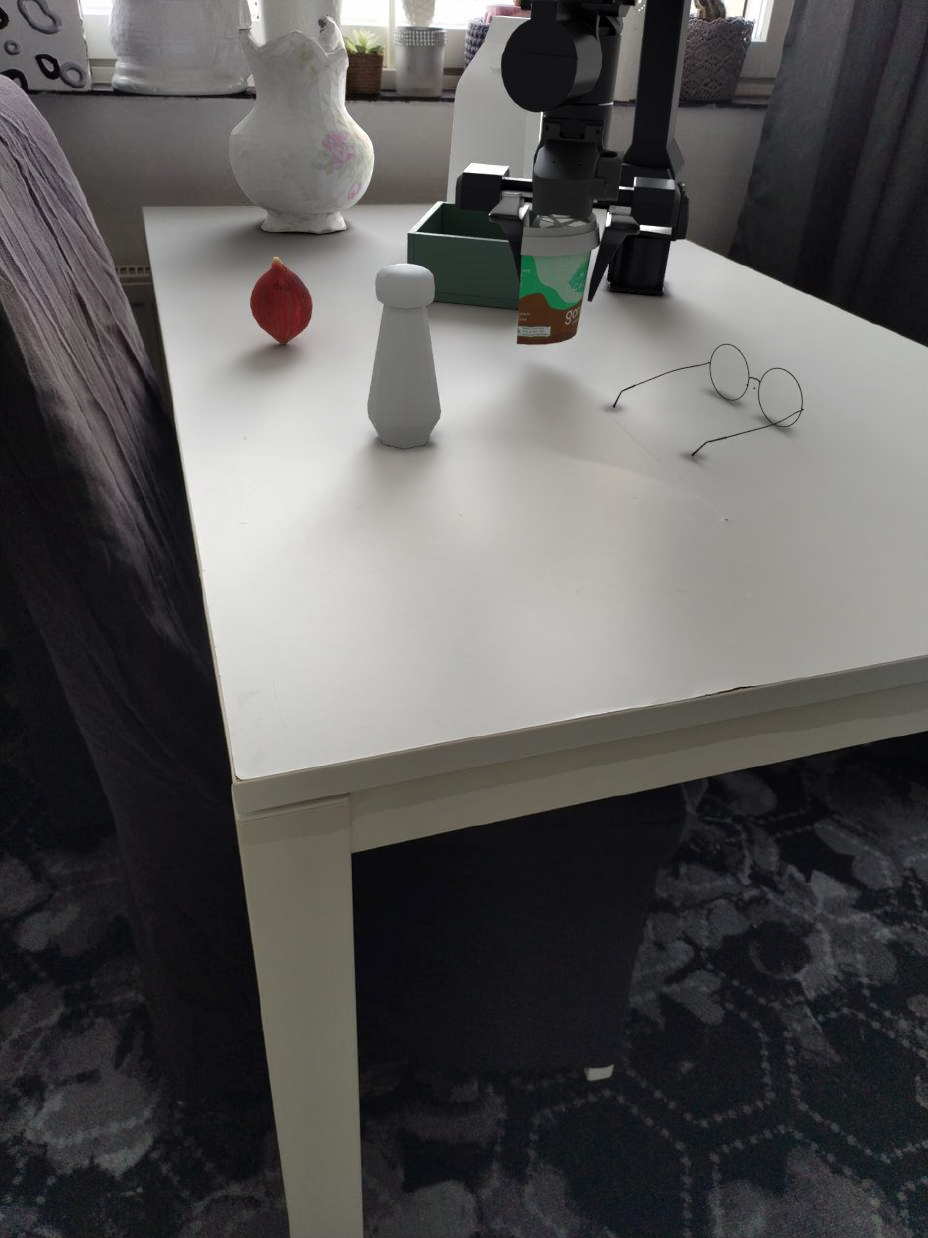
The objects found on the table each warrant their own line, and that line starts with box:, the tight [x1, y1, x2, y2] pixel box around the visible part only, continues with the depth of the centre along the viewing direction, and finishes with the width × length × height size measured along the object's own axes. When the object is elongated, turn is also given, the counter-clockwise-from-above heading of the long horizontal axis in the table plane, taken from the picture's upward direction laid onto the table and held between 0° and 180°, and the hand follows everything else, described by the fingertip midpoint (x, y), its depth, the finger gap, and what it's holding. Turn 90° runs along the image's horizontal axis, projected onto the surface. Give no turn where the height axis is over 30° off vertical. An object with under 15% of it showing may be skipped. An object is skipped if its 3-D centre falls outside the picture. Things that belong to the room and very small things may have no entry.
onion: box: [249, 256, 314, 345], centre depth 84 cm, size 6×6×8 cm
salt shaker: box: [366, 263, 442, 450], centre depth 67 cm, size 6×6×13 cm
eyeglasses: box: [612, 343, 805, 457], centre depth 74 cm, size 11×13×5 cm
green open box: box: [406, 200, 539, 310], centre depth 105 cm, size 14×18×7 cm
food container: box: [516, 211, 601, 346], centre depth 80 cm, size 12×6×10 cm, turn 169°
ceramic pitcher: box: [228, 14, 375, 235], centre depth 120 cm, size 22×20×25 cm
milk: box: [445, 15, 541, 209], centre depth 117 cm, size 12×12×26 cm
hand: (556, 297), depth 81 cm, fingers closed on food container, 6 cm apart
